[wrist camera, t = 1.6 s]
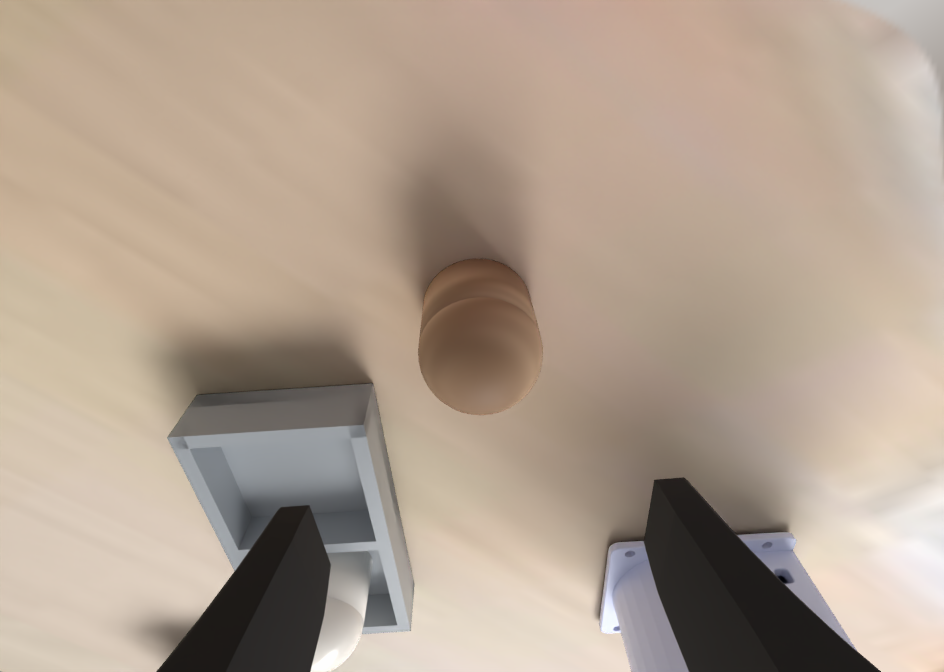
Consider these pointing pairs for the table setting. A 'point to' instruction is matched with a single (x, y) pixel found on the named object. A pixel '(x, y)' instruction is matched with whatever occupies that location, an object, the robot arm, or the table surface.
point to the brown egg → (479, 337)
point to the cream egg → (343, 609)
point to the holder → (302, 479)
